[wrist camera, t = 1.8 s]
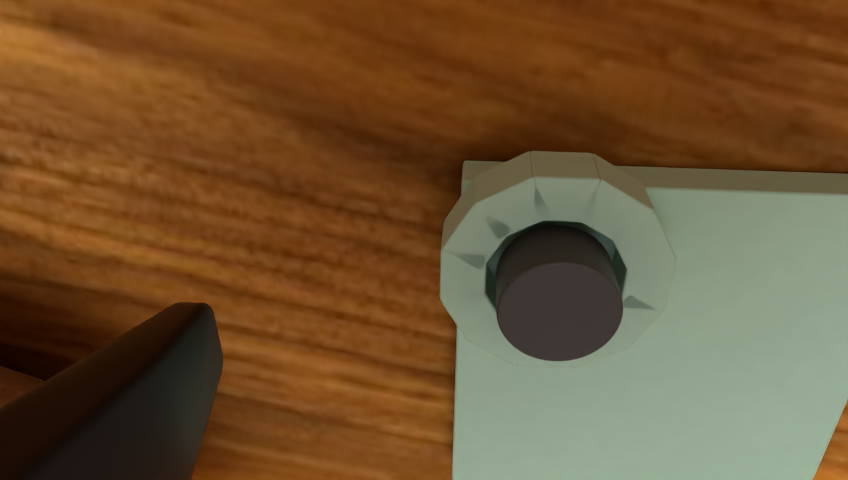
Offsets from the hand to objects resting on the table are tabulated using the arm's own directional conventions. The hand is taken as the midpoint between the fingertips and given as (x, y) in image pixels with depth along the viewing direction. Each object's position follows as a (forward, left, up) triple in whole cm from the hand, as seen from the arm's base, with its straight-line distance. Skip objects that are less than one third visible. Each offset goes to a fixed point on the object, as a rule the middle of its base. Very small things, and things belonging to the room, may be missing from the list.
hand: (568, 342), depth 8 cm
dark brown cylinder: (-1, +4, -8) cm, 10 cm away
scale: (-4, +8, -11) cm, 15 cm away
